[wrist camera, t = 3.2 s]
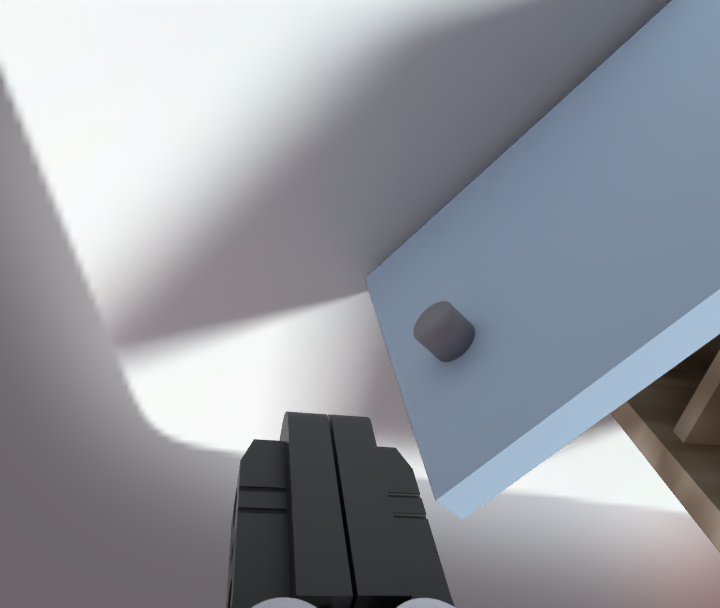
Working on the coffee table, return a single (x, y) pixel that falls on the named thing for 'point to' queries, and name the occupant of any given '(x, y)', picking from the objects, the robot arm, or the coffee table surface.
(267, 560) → the robot arm
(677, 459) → the cabinet
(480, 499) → the cabinet door
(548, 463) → the coffee table surface
